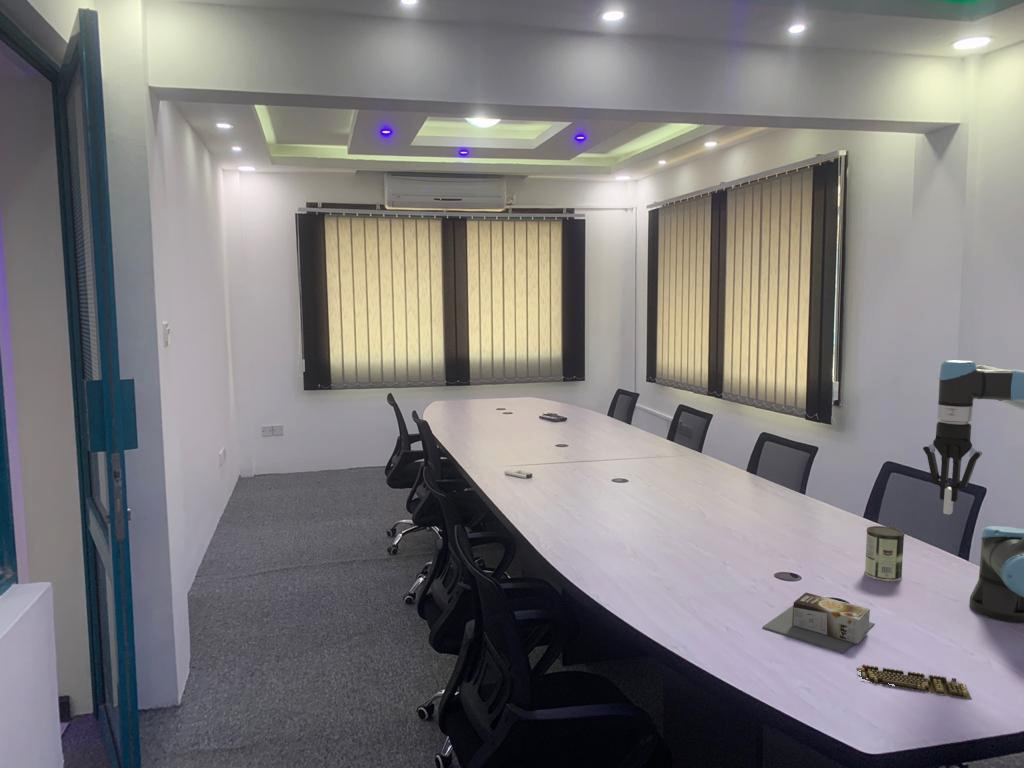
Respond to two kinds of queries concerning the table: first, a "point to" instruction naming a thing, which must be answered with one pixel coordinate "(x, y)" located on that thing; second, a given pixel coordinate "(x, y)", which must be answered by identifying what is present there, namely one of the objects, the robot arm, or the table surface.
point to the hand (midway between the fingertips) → (947, 512)
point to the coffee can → (884, 553)
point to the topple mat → (807, 633)
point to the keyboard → (914, 681)
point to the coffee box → (831, 617)
